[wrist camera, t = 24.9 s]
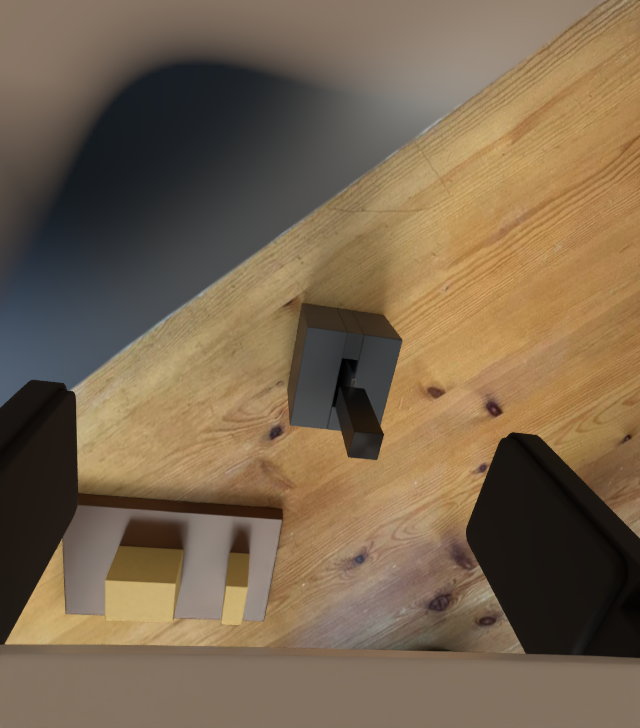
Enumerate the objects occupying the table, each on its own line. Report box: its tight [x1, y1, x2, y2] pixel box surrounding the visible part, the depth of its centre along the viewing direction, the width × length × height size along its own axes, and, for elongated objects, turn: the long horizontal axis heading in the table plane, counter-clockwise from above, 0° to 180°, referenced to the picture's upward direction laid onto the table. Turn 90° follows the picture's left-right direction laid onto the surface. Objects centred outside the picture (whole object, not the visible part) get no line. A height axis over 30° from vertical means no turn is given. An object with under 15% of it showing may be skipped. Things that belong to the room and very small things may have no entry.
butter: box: [105, 546, 183, 623], centre depth 43 cm, size 6×5×4 cm
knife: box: [335, 358, 384, 460], centre depth 33 cm, size 2×3×14 cm, turn 170°
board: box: [62, 494, 283, 621], centre depth 46 cm, size 20×14×2 cm
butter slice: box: [221, 553, 250, 625], centre depth 45 cm, size 2×5×4 cm, turn 170°
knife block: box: [287, 303, 402, 431], centre depth 37 cm, size 7×8×6 cm
